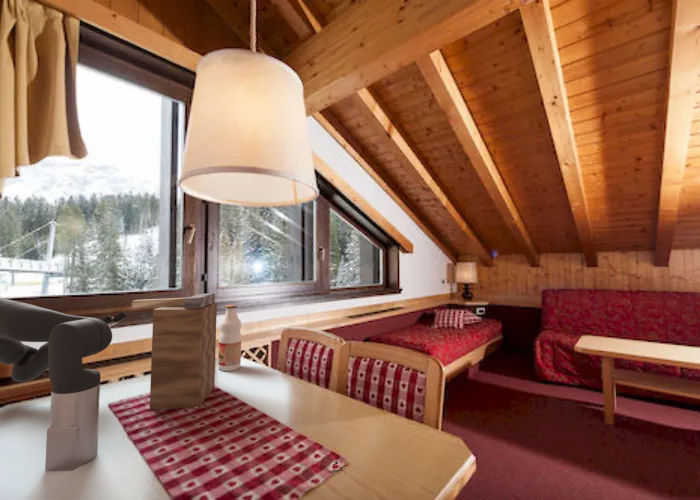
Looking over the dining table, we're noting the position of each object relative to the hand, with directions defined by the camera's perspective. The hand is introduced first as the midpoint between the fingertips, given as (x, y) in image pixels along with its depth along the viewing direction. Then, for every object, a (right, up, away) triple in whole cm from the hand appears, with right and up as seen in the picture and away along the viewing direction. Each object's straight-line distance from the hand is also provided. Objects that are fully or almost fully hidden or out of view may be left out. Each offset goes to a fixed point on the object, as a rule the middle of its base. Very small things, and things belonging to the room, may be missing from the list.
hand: (118, 316), depth 117 cm
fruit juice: (+26, -30, +34) cm, 52 cm away
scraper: (+17, +3, +2) cm, 17 cm away
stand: (+22, -29, +1) cm, 36 cm away
